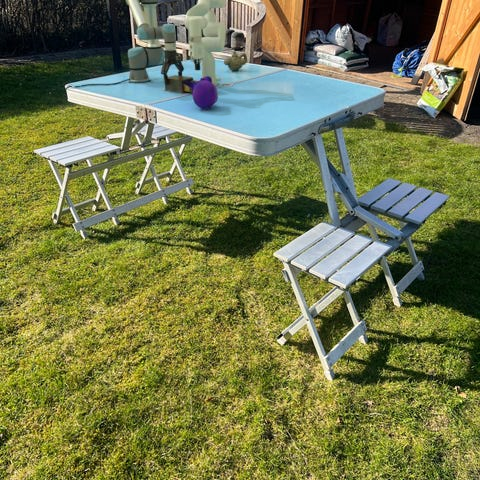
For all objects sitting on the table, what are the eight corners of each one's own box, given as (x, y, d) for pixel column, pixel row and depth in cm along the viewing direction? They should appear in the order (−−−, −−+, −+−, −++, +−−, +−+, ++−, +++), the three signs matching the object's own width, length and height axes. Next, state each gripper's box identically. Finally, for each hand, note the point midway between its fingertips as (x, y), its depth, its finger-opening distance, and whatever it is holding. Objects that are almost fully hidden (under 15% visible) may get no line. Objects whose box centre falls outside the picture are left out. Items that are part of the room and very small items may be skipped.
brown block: (193, 90, 308) (193, 77, 304) (182, 93, 301) (181, 80, 296) (176, 87, 317) (175, 75, 313) (165, 90, 310) (164, 77, 305)
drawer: (208, 91, 300) (207, 81, 297) (198, 94, 294) (197, 83, 290) (185, 87, 311) (184, 78, 308) (175, 90, 305) (174, 80, 301)
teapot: (227, 73, 361) (227, 53, 353) (221, 70, 369) (220, 51, 362) (250, 70, 370) (250, 50, 362) (243, 68, 378) (242, 49, 371)
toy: (205, 99, 283) (218, 114, 263) (178, 94, 276) (189, 110, 255) (211, 73, 275) (224, 87, 254) (183, 68, 268) (194, 82, 247)
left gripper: (161, 52, 288) (164, 86, 299) (187, 47, 305) (190, 80, 316) (153, 51, 292) (156, 85, 303) (179, 47, 309) (182, 79, 320)
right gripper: (192, 41, 275) (194, 72, 285) (208, 38, 285) (209, 68, 295) (183, 40, 279) (185, 71, 289) (199, 37, 289) (201, 67, 299)
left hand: (173, 83), depth 309 cm, fingers open, 13 cm apart
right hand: (197, 70), depth 292 cm, fingers closed
